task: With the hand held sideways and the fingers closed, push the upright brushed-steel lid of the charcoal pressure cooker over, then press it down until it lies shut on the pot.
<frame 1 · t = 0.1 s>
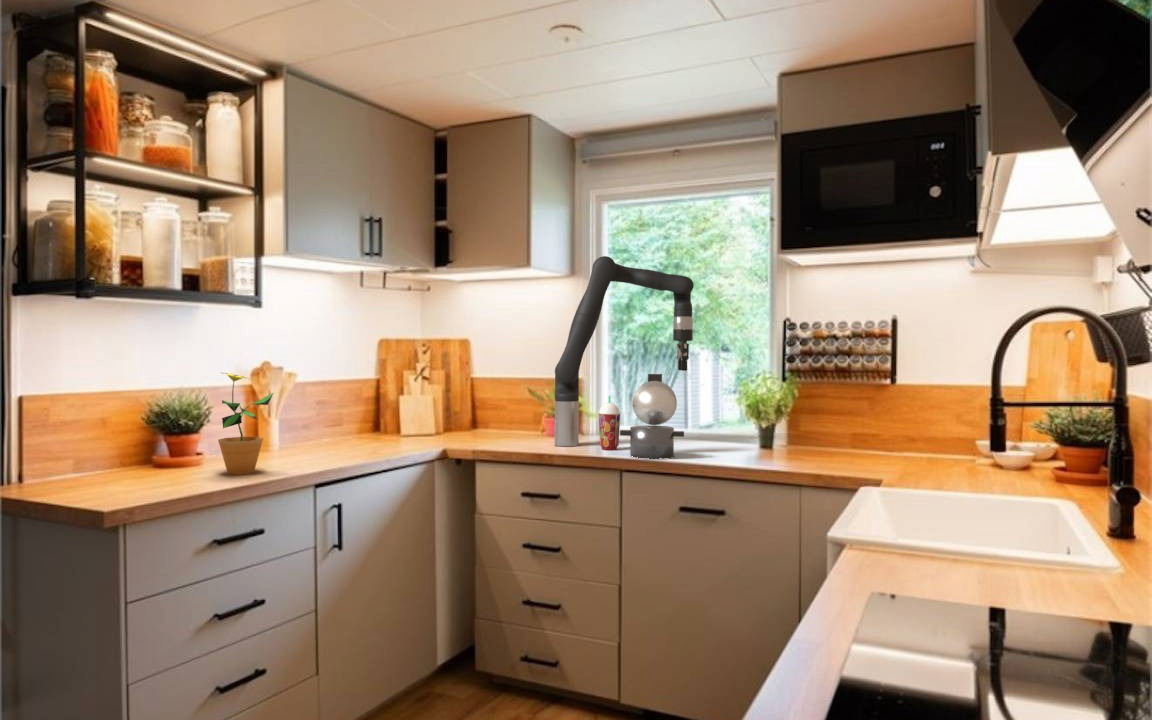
hand: (682, 370, 298), 29 cm above the worktop, tool pointing down, fingers open, 8 cm apart
potted plant: (241, 473, 229), on the worktop
lid: (654, 399, 279), point 19 cm above the worktop, hinge at 104.0°
smoothie: (609, 449, 286), on the worktop
cooker pot: (651, 456, 267), on the worktop
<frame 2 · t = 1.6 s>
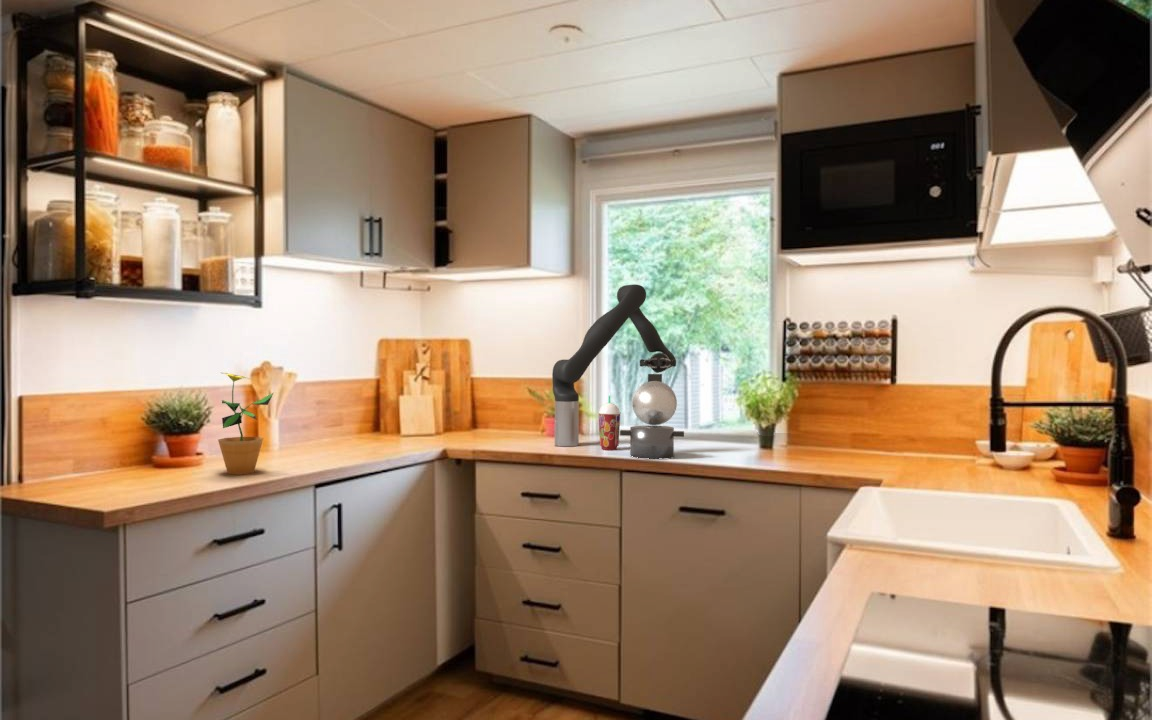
hand: (656, 363, 289), 32 cm above the worktop, tool horizontal, fingers open, 7 cm apart
nothing on the worktop moved.
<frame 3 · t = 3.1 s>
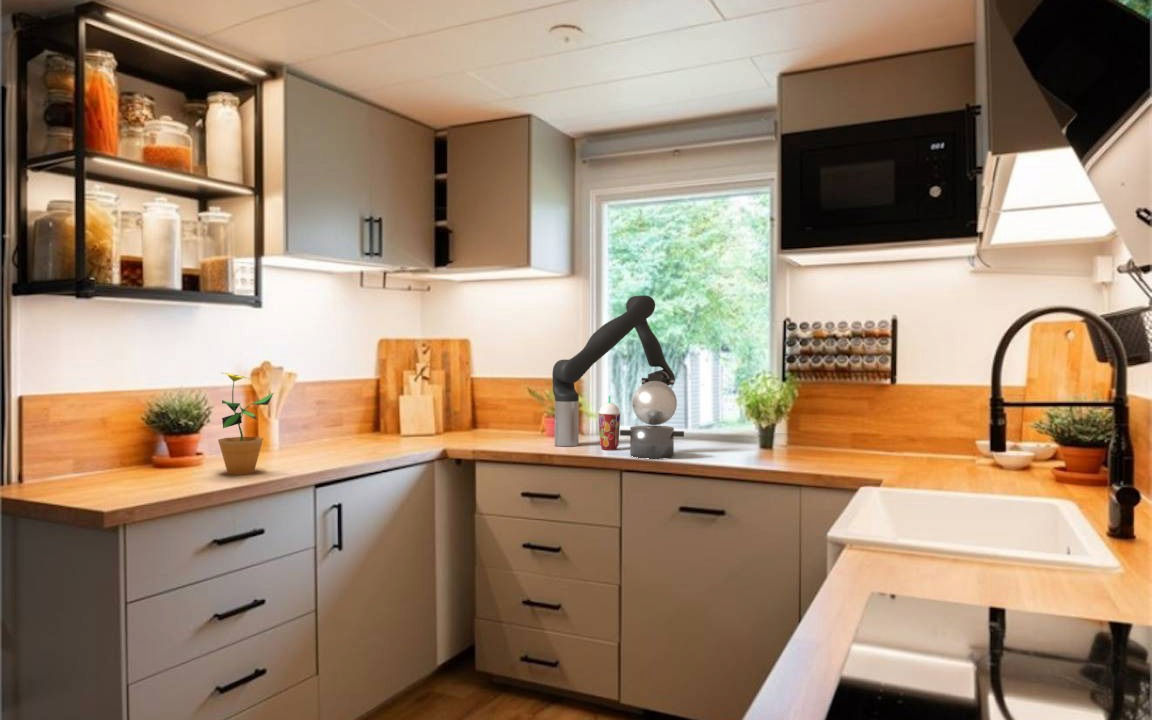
hand: (656, 382, 286), 25 cm above the worktop, tool horizontal, fingers closed
nothing on the worktop moved.
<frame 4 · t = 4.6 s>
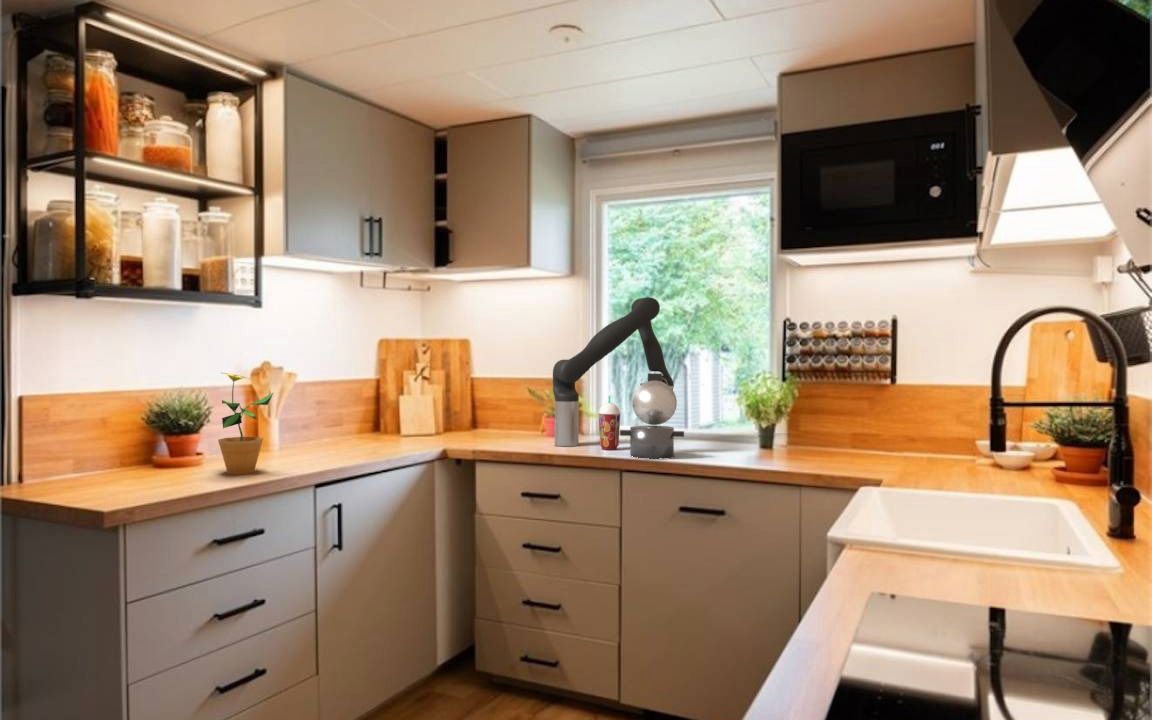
hand: (655, 387, 280), 23 cm above the worktop, tool horizontal, fingers closed
lid: (654, 399, 279), point 19 cm above the worktop, hinge at 101.8°, touching gripper
everything else where it was.
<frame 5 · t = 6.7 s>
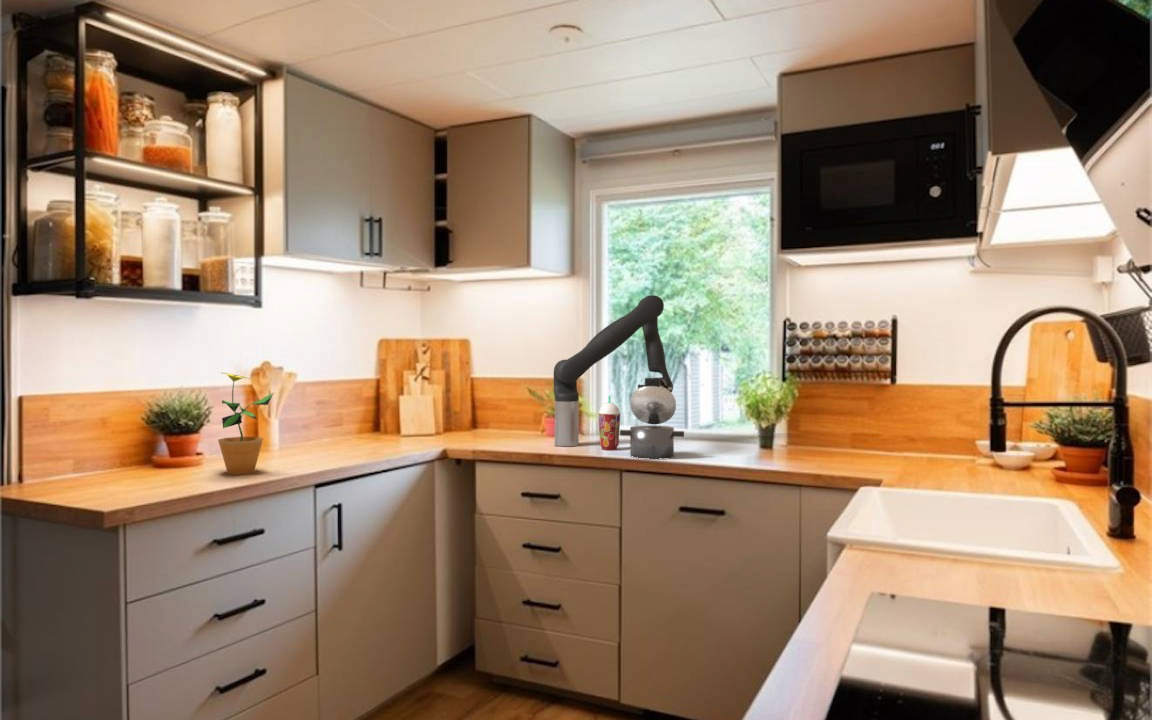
hand: (653, 388, 271), 23 cm above the worktop, tool horizontal, fingers closed
lid: (653, 401, 272), point 19 cm above the worktop, hinge at 59.6°, touching gripper
everything else where it was.
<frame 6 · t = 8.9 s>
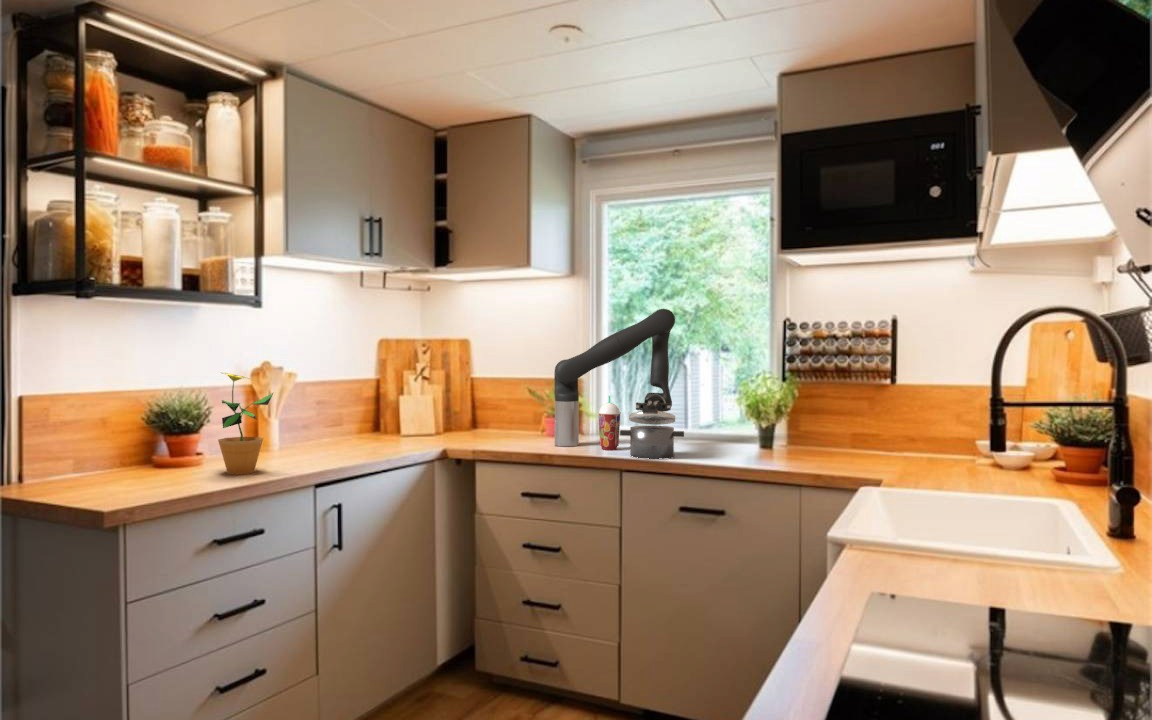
hand: (651, 408, 264), 17 cm above the worktop, tool horizontal, fingers closed
lid: (651, 416, 267), point 14 cm above the worktop, hinge at 16.6°
everything else where it was.
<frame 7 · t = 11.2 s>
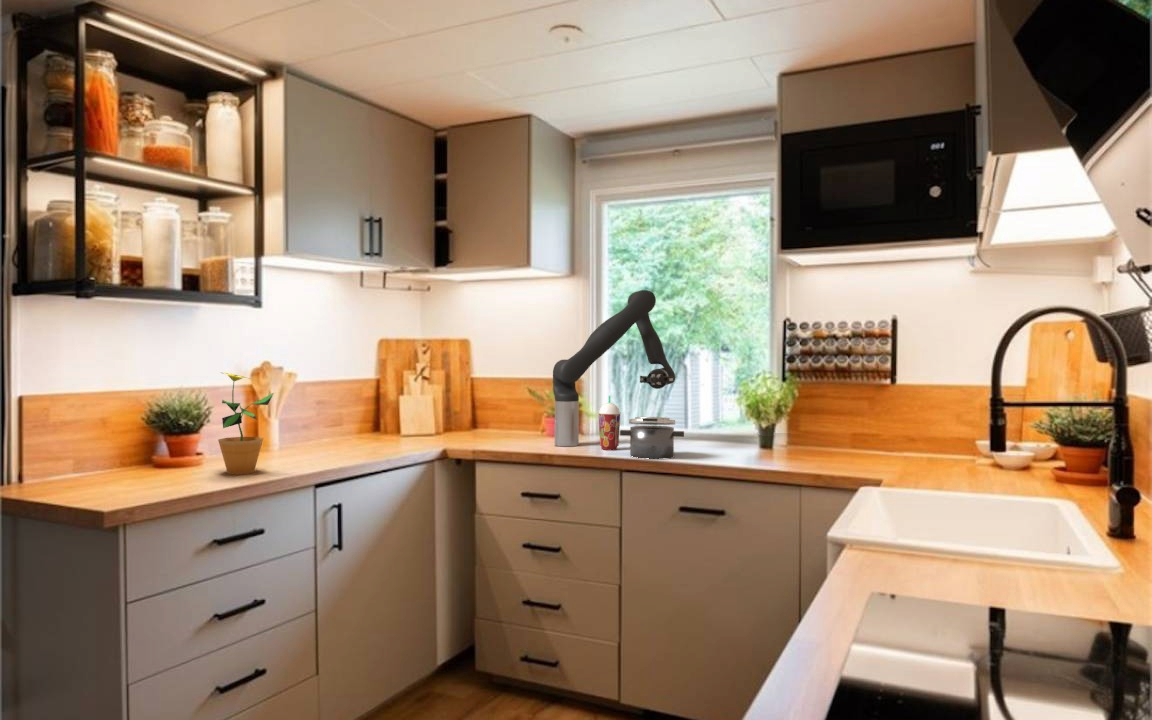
hand: (654, 380, 278), 26 cm above the worktop, tool horizontal, fingers closed
lid: (651, 420, 266), point 12 cm above the worktop, hinge at 7.4°
everything else where it was.
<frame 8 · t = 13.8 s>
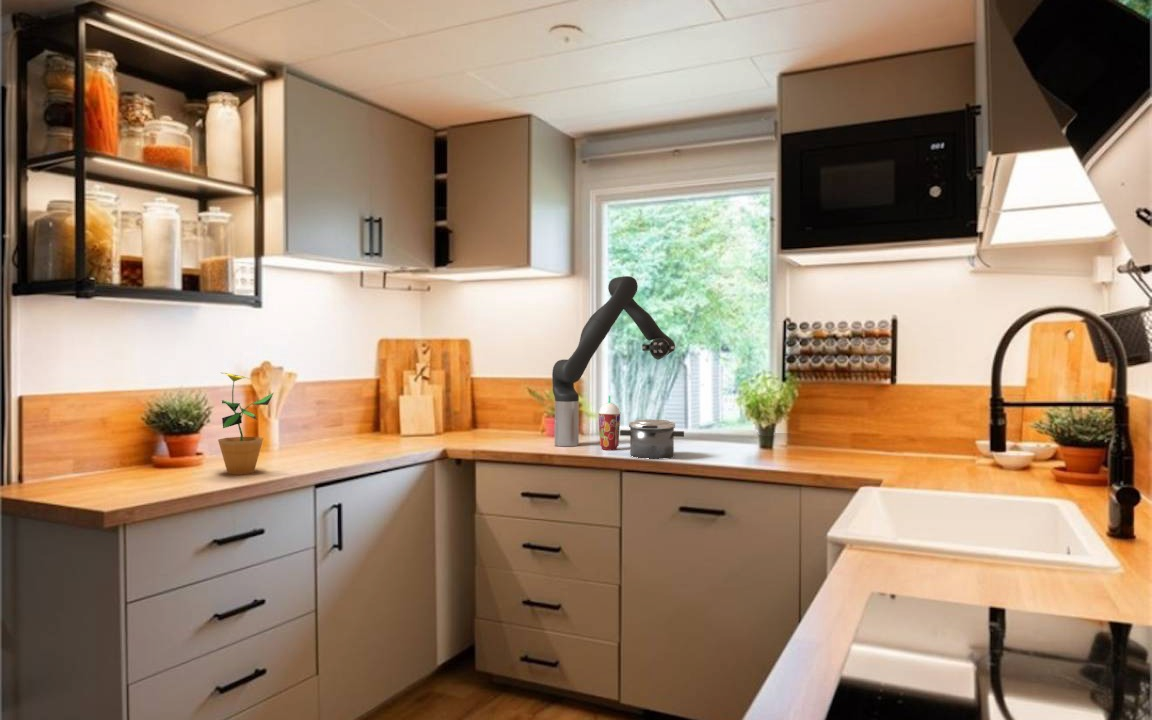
hand: (656, 347, 288), 38 cm above the worktop, tool horizontal, fingers closed
lid: (651, 424, 266), point 11 cm above the worktop, hinge at -0.1°
everything else where it was.
at the end: lid at +0° (first picture: +104°); smoothie moved 0.2 cm from its start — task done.
